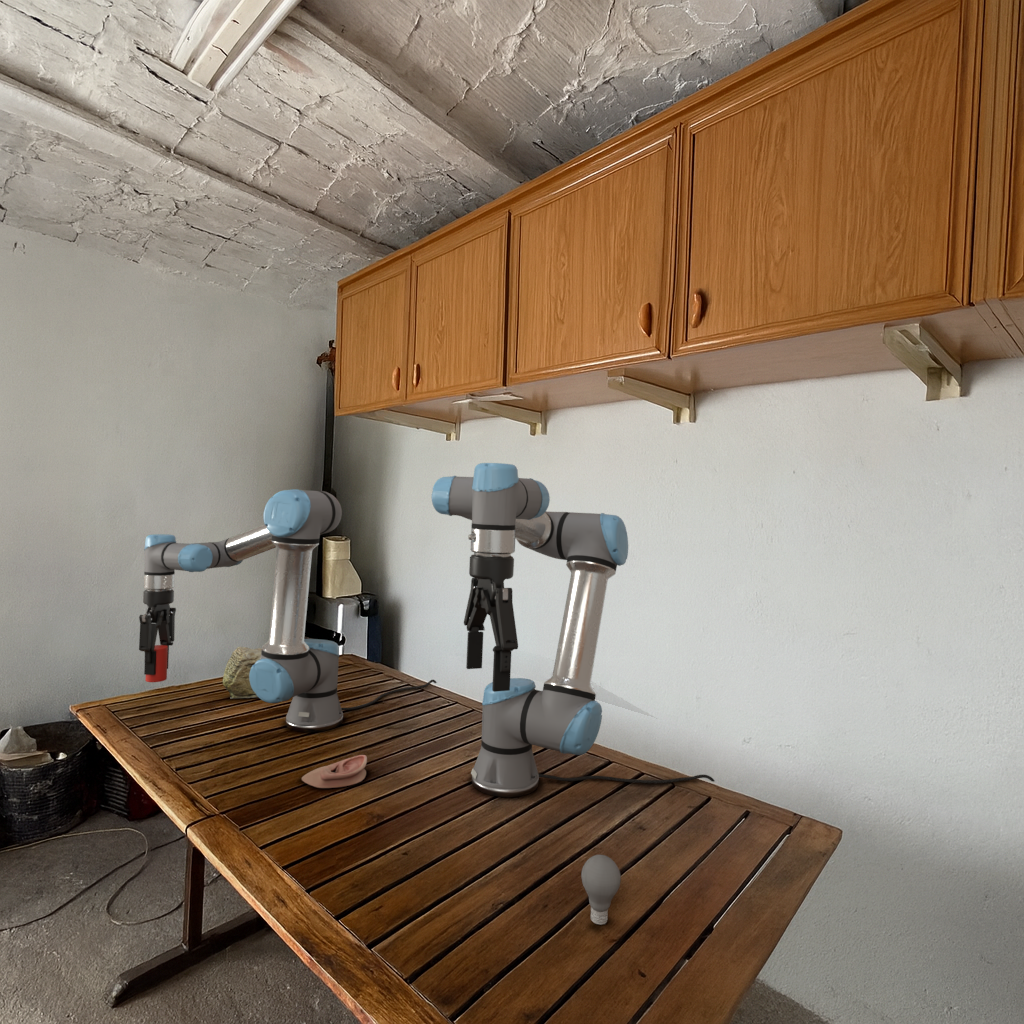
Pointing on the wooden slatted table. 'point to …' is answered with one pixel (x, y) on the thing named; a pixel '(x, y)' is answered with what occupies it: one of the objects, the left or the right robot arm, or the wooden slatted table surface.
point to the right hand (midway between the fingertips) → (486, 678)
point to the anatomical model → (338, 773)
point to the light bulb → (600, 885)
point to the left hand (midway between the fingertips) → (156, 671)
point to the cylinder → (159, 664)
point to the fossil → (240, 672)
